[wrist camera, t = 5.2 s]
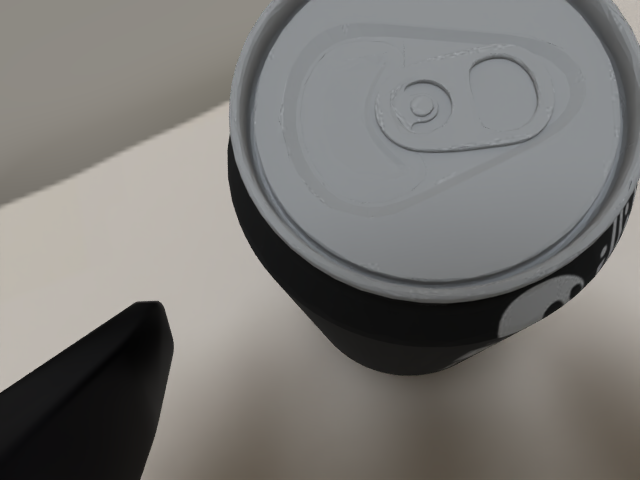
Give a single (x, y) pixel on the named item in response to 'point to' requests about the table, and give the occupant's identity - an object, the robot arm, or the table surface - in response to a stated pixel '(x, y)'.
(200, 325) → the table surface
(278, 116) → the beverage can
